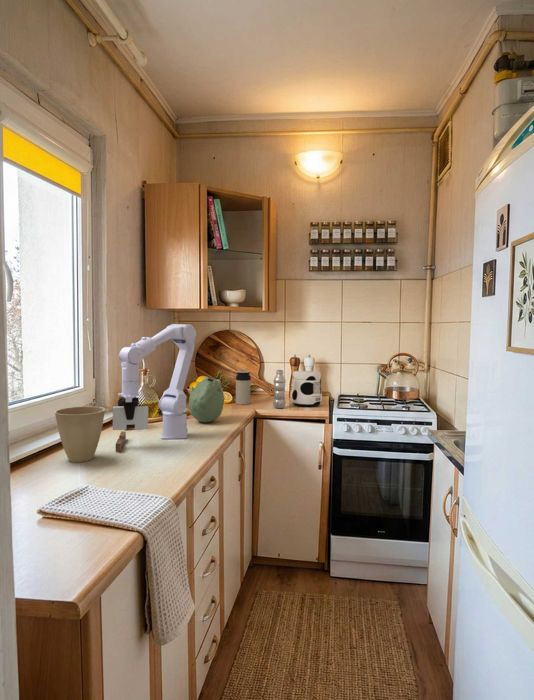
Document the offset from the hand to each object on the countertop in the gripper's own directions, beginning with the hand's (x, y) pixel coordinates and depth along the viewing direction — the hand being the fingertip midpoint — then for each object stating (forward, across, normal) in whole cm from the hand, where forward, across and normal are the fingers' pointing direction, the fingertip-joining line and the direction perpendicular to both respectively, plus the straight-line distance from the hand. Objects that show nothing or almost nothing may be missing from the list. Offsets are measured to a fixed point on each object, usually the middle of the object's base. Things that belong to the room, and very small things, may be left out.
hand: (130, 419), depth 168 cm
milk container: (+10, -74, +88) cm, 116 cm away
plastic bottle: (+10, -67, +71) cm, 98 cm away
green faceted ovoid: (+10, -38, +30) cm, 49 cm away
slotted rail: (+10, -2, -3) cm, 11 cm away
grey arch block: (+4, 0, 0) cm, 4 cm away
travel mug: (+10, -82, +54) cm, 99 cm away
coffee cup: (+10, -29, -3) cm, 31 cm away
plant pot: (+10, +13, -14) cm, 22 cm away
